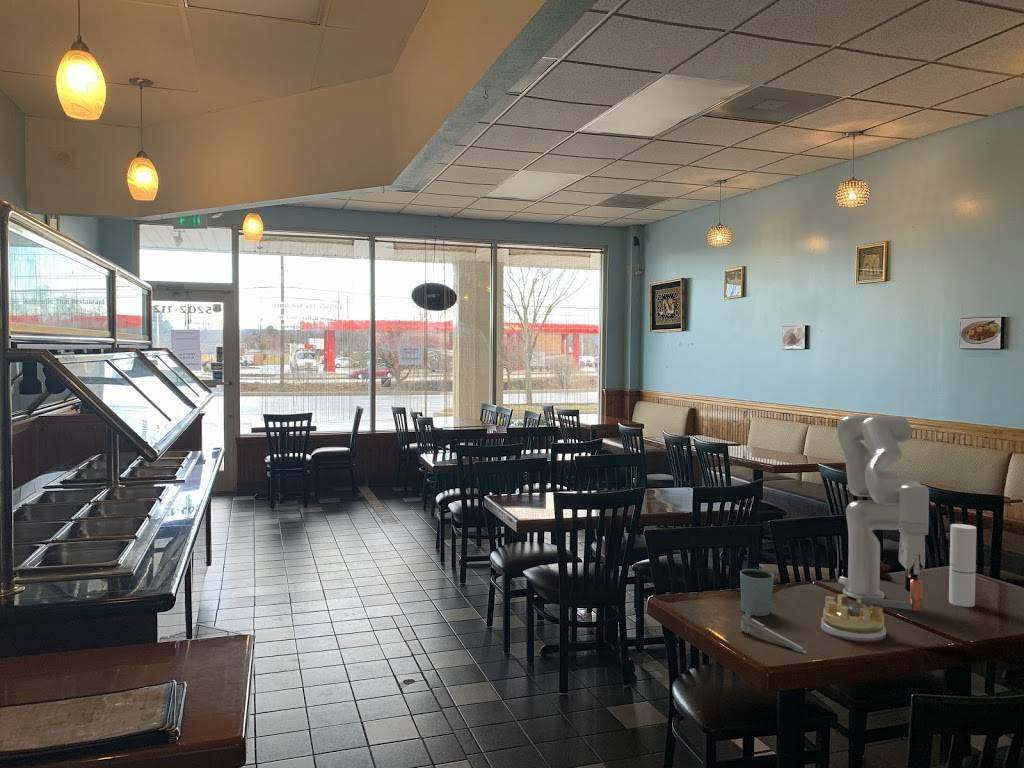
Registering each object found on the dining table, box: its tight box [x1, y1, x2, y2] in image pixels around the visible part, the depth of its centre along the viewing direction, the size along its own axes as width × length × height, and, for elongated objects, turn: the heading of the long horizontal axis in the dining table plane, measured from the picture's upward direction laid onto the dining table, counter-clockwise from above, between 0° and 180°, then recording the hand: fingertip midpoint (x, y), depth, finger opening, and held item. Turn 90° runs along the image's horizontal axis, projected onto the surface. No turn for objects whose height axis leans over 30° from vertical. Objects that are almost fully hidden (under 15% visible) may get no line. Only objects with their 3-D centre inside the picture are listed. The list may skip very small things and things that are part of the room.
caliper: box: [740, 612, 808, 655], centre depth 207 cm, size 20×1×6 cm, turn 37°
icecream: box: [880, 560, 892, 581], centre depth 273 cm, size 7×7×15 cm
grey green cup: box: [739, 568, 775, 617], centre depth 232 cm, size 10×10×12 cm
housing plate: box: [820, 617, 887, 643], centre depth 216 cm, size 17×17×2 cm
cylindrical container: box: [948, 523, 977, 608], centre depth 241 cm, size 7×7×25 cm
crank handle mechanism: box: [822, 578, 924, 633], centre depth 215 cm, size 21×21×14 cm
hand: (911, 590), depth 215 cm, fingers closed
